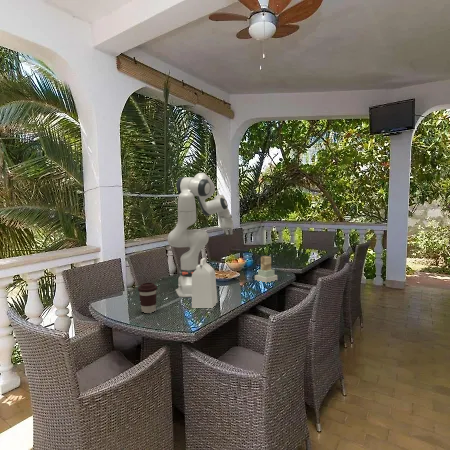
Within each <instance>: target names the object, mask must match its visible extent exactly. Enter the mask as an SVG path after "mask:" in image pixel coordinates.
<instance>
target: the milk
mask: <svg viewBox="0 0 450 450" xmlns="http://www.w3.org/2000/svg"><path fill="white" fill-rule="evenodd" d="M199 261H200V263H199V264H198V266H197V267H196V270H195V271H194V272H193V273H192V297H191V309H192V308H213V307H214V306H216V305H217V304H218V292H217V291H218V290H217V281H216V280H217V279H216V271H215V269H214V268H213V267H212V266H211V265H210V264H209V263H208V262H207V258H206V257H203V258H201V259H200V260H199ZM216 303H217V304H216ZM214 308H215V307H214ZM214 308H213V309H214Z"/></svg>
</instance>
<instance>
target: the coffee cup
mask: <svg viewBox="0 0 450 450" xmlns="http://www.w3.org/2000/svg"><path fill="white" fill-rule="evenodd" d="M157 290H158V286H157V284H155V283H154V282H142V283H141V284H140V286H138V287H137V291H138V292H139V294H138V295H139V296H138V297H139V302H140V304H139V305H140V308H141V313H142V312H144V313H150V312H154V311H155V312H156V309H157ZM155 312H154V313H155ZM144 313H143V314H144ZM150 314H151V313H150Z"/></svg>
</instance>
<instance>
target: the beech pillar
mask: <svg viewBox="0 0 450 450" xmlns="http://www.w3.org/2000/svg"><path fill="white" fill-rule="evenodd" d="M260 269H261V270H265V271H267V270H271V269H272V256H267V255H264V256H260Z"/></svg>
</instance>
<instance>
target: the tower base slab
mask: <svg viewBox="0 0 450 450" xmlns="http://www.w3.org/2000/svg"><path fill="white" fill-rule="evenodd" d="M254 280H257V281H256V282H259V281H262V282H261V283H263V282H265V283H264V284H268V283H267V282H269V283H272V282H271V281H273V282H276V281H275V280H277V281H278V275H277V274H275V276H271V277H267V278H266V277H262V276H258V274H255V275H254Z"/></svg>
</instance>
